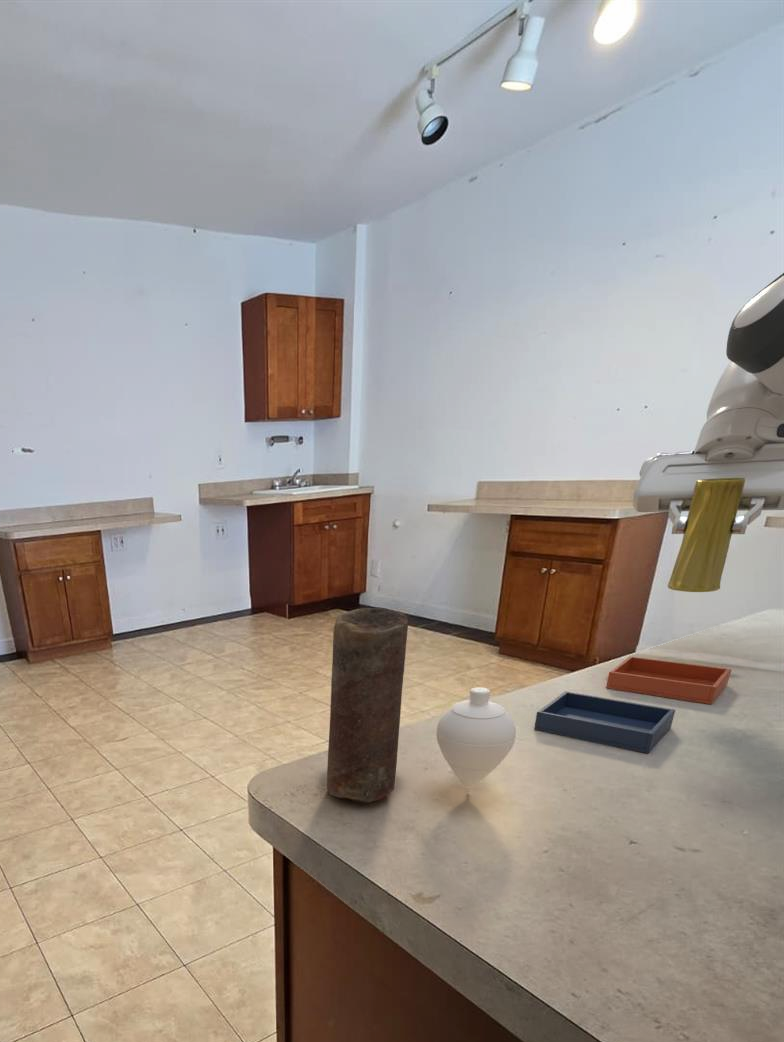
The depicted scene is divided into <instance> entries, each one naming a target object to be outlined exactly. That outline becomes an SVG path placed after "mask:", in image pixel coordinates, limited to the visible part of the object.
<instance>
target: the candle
mask: <svg viewBox="0 0 784 1042" xmlns="http://www.w3.org/2000/svg"><path fill="white" fill-rule="evenodd" d="M408 629H409V620H408V617H407V615H406V614H405V613H403V612H402V611H399V610H394V609H389V608H385V607H365V608H363V607H360V608H356V609H353V610H349V611H347V612H346V613H343V614H340V615H339V616H338V617H337V618H336V620H335V622H334V626H333V632H332V634H333V635H332V637H333V639H332V662H331V663H332V665H331V679H330V680H331V684H330V685H331V686H330V708H329V710H330V711H329V712H330V713H329V729H328V730H329V732H328V750H327V769H326V770H327V771H326V789H327V793H329V794H330V795H331V796H333V797H337V798H341V799H343V798H344V799H349V800H350V801H352V802H354V803H361V804H368V803H369V804H370V803H371V802H375V801H379V800H382V799H383V798H384V797H386V796H389V795H390V794H391V793H393V791H394V790H395V784H396V774H397V763H398V749H399V737H400V725H401V715H402V714H401V713H402V711H401V710H402V698H403V697H402V696H403V695H402V694H403V685H404V674H405V665H406V664H405V663H406V654H407V641H408Z"/></svg>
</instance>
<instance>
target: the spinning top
mask: <svg viewBox="0 0 784 1042" xmlns="http://www.w3.org/2000/svg"><path fill="white" fill-rule="evenodd" d="M490 696H491V690H490V689H489V688H486V687H481V686H480V687H479V686H477V687H472V688H470V690H469V699H466V700H462V701H459V702H456V703H454V704H453V705H451V707H450V708H449V709H447V710H446V711H445V712H444V713H443V715H442V716H441V717H440V719H439V721H438V722H437V726H436V731H435V732H436V741H437V744H438V747H439V750H440V752H441V753H442V756H443V758H444V760H445V761H446V763H447V764H448V766H449V768H450V769H451V770H452V773H454V775H455V776H456V777H457V778H458V780H459V781H460V783H462V785H463V786H465V787H466V791H465V793H466V795H467V794H468V795H470V794H471V788H473V787H475V786H477V785H478V784H479V783H481V782H483V780H484V779H485V778H486V777H488V776H489V775H490V774H491V773H492V772H493V771H495V770H496V769H497V767H498V766H499V765H500V764H501V763H502V762H503V761H504V760H505V758H506V757H507V756H508V755H509V753H510V752H511V750H512V749H513V746H514V745H515V741H516V737H517V730H516V725H515V723H514V720H513V718H512V717H511V715H510V714H509V713H508V712H507V711H506V708H505V707H503V706H502V705H500V704H499V703H496V702H493V701H491V700H489V699H490Z"/></svg>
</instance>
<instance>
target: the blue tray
mask: <svg viewBox="0 0 784 1042" xmlns="http://www.w3.org/2000/svg"><path fill="white" fill-rule="evenodd" d="M675 713H676V709H673V708H666V707H662V706H655V705H649V704H644V703H638V702H631V701H626V700H625V701H624V700H618V699H614V698H607V697H601V696H597V695H596V696H595V695H590V694H583V693H578V692H571V691H564V692H562V693H561V694H559V695H558V696H557V697H555V698H554V699H553V700H551V701H550V702H549V703H547V704H546V705H544V706H543V707H542V708H540V709H539V710H538V711H536V715H535V722H534V730H535V731H539V732H545V733H549V734H553V735H558V736H564V737H567V738H572V739H577V740H582V741H587V742H591V743H596V744H601V745H606V746H611V747H616V748H621V749H624V750H630V751H634V752H639V753H644V754H650V752H651V751H652V750H653V749H654V748H655V746H656V745H657V744H658V743H659V742H660V741H661V740H662V739H663V737H664V736H665V735H666V734H667V733H668V732H669V730H671V728H672V724H673V721H674V717H675Z"/></svg>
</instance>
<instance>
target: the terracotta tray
mask: <svg viewBox="0 0 784 1042" xmlns="http://www.w3.org/2000/svg"><path fill="white" fill-rule="evenodd" d="M731 673H732V668H726V667H719V666H711V665H702V664H693V663H687V662H680V661H679V662H678V661H670V660H661V659H653V658H647V657H638V656H628V657H627V658H625V659H624V660H623V661H621V663H619V664H618V665H616V666H615V667H614V668H612V669H611V670H610V671H609V672H608V676H607V681H606V686H605V688H606V689H610V690H617V691H623V692H628V693H629V692H630V693H636V694H642V695H649V696H656V697H660V698H667V699H675V700H681V701H687V702H692V703H693V702H694V703H699V704H704V705H705V704H706V705H712V704H713V703H714V702H715V701H716V700H717V698H718V697H719V696H720V694H721V693H722V692H724V690H725V688H726V687H727V686H728V683H729V679H730V676H731Z"/></svg>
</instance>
